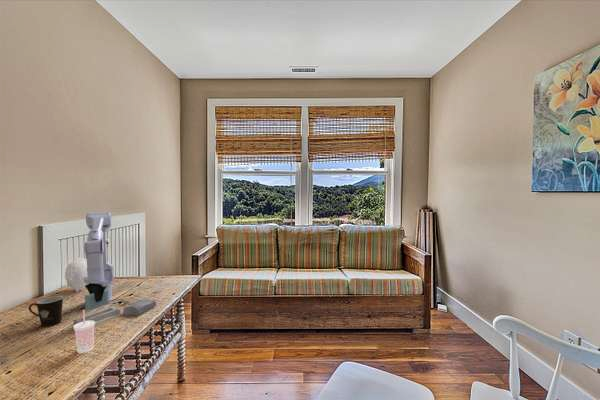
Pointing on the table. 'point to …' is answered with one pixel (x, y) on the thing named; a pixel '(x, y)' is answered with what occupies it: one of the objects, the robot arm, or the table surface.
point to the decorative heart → (76, 274)
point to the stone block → (139, 307)
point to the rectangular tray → (100, 315)
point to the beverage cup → (84, 335)
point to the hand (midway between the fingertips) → (96, 300)
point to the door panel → (91, 302)
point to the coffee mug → (49, 310)
